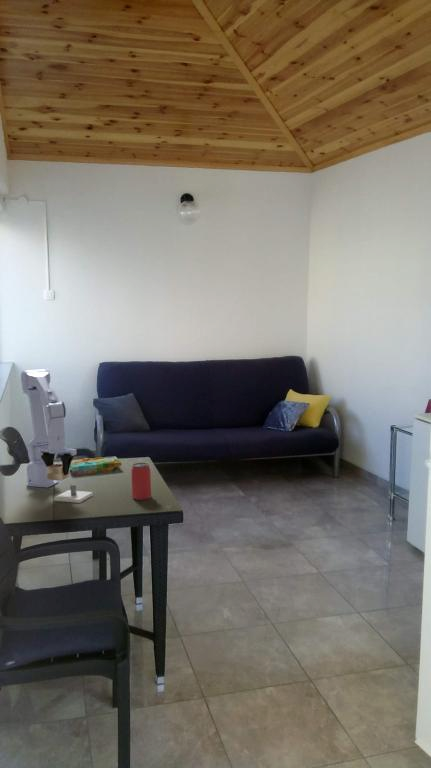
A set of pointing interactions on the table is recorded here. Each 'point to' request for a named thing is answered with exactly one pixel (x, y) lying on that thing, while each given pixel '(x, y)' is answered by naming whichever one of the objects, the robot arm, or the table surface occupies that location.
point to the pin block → (73, 495)
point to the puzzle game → (94, 465)
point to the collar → (56, 472)
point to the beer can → (141, 481)
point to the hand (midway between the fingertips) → (58, 473)
